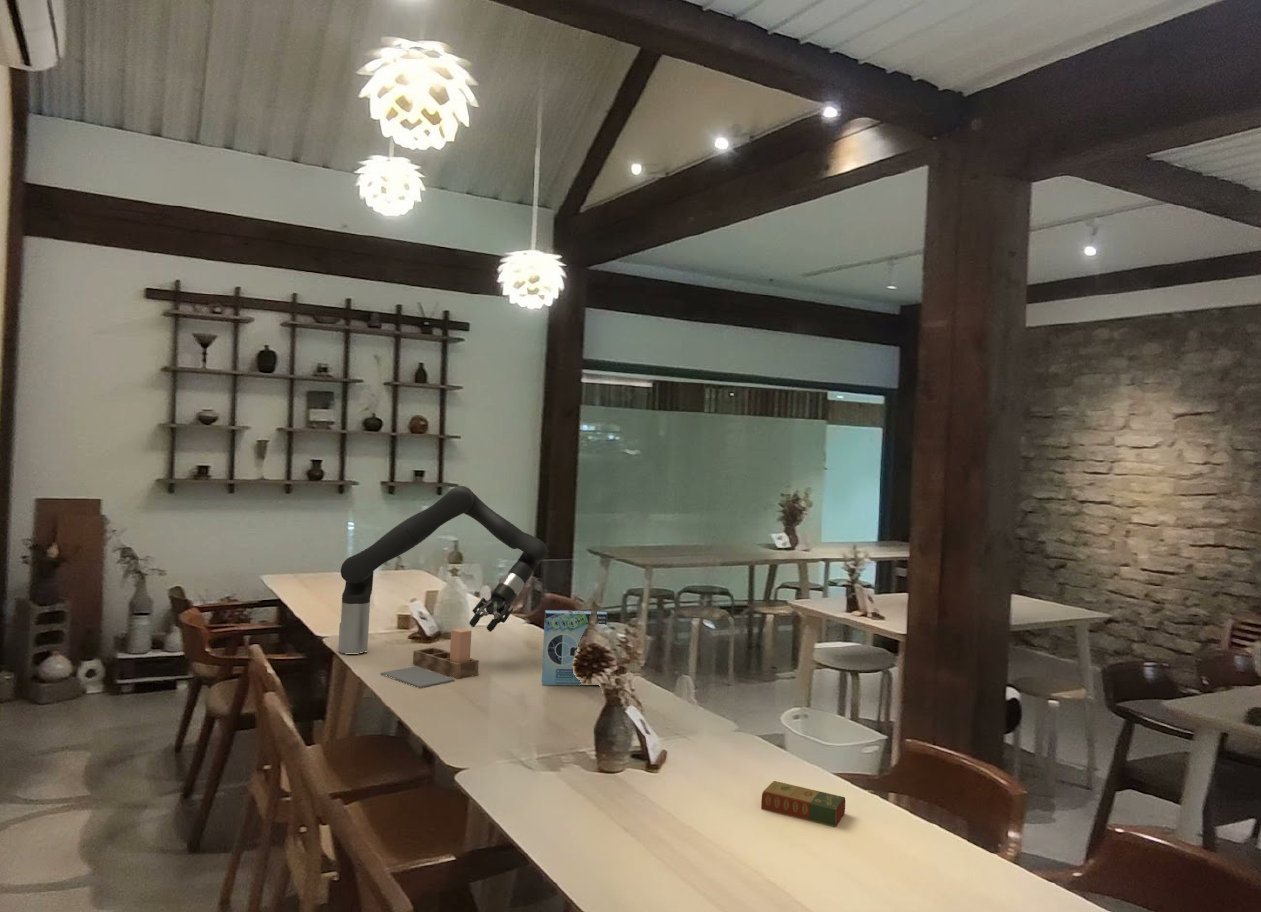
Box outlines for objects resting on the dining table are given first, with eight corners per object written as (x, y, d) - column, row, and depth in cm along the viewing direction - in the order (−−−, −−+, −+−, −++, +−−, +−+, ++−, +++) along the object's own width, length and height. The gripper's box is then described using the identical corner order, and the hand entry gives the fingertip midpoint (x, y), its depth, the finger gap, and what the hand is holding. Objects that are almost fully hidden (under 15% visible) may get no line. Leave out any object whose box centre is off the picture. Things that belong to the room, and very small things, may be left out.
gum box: (602, 682, 287) (606, 610, 286) (604, 687, 282) (608, 613, 281) (541, 681, 284) (544, 609, 284) (541, 686, 279) (545, 612, 279)
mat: (380, 674, 282) (380, 672, 282) (415, 668, 292) (415, 666, 292) (419, 688, 269) (419, 686, 269) (454, 681, 279) (454, 679, 279)
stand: (412, 664, 297) (413, 650, 297) (433, 660, 303) (434, 647, 303) (457, 678, 282) (457, 664, 282) (477, 674, 288) (478, 660, 288)
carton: (772, 798, 199) (773, 779, 199) (845, 815, 192) (846, 795, 192) (760, 810, 192) (761, 790, 192) (835, 829, 185) (836, 808, 185)
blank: (448, 673, 287) (451, 629, 287) (460, 671, 291) (462, 628, 291) (458, 676, 285) (460, 632, 284) (469, 674, 288) (471, 630, 288)
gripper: (488, 579, 305) (459, 616, 296) (517, 585, 295) (488, 624, 287) (499, 593, 309) (471, 631, 300) (528, 600, 300) (500, 638, 291)
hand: (479, 627), depth 293 cm, fingers open, 8 cm apart
